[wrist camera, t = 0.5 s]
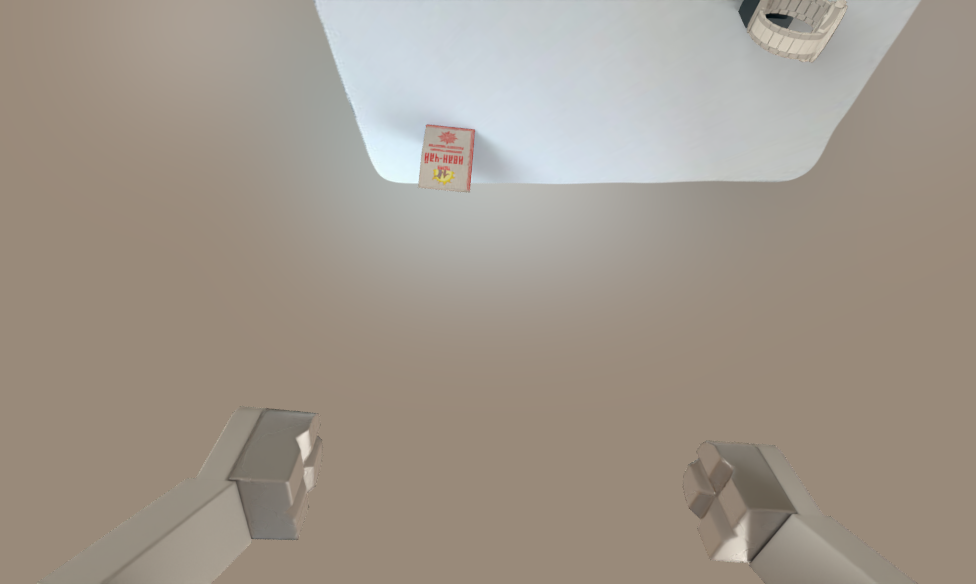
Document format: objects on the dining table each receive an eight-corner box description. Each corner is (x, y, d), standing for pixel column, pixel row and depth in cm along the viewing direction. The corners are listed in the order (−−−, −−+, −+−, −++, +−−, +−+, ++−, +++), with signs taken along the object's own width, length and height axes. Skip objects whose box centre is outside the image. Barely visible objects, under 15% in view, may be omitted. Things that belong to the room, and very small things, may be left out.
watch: (795, 14, 51) (830, 77, 45) (722, 10, 51) (747, 72, 45) (830, -44, 46) (873, 18, 40) (748, -49, 46) (780, 12, 40)
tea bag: (472, 150, 69) (468, 201, 63) (426, 145, 68) (418, 196, 63) (474, 129, 65) (470, 182, 60) (426, 124, 65) (417, 176, 60)
